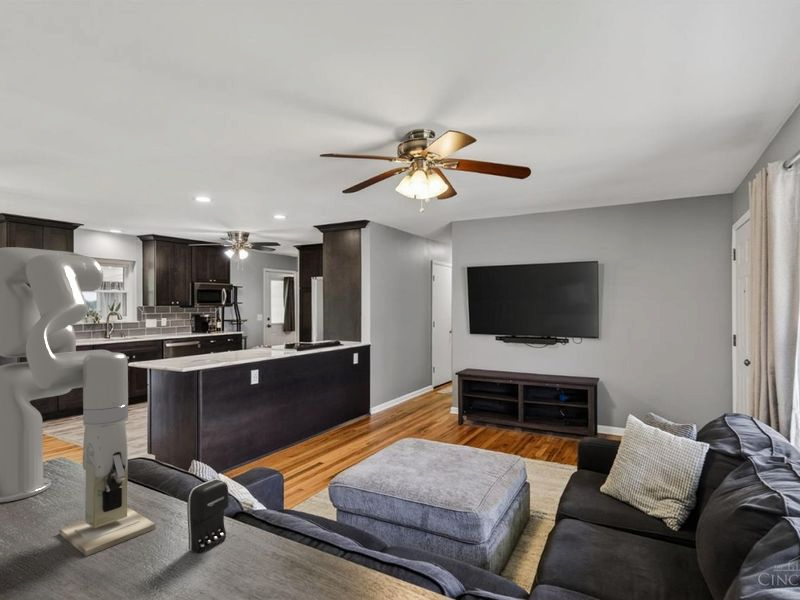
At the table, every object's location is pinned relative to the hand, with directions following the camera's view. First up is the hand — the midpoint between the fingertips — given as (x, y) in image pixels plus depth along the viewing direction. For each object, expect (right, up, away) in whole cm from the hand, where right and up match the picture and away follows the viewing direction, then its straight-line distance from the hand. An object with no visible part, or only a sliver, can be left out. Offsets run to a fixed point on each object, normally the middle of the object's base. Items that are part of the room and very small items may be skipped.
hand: (107, 504), depth 89 cm
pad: (0, -5, 0) cm, 5 cm away
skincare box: (0, -3, 0) cm, 3 cm away
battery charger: (+23, -5, -6) cm, 25 cm away
